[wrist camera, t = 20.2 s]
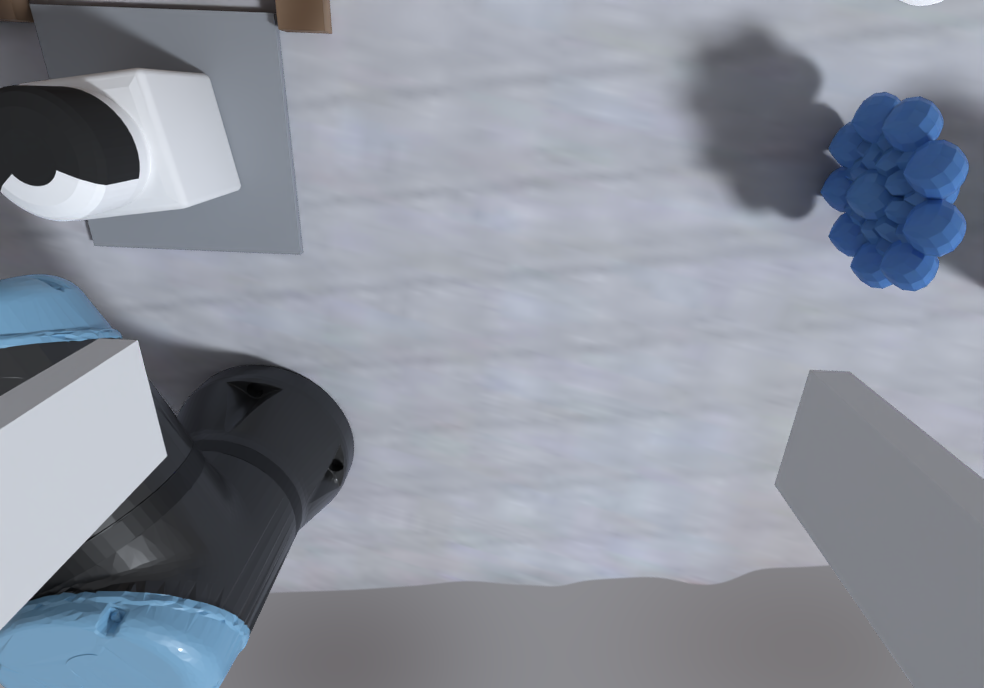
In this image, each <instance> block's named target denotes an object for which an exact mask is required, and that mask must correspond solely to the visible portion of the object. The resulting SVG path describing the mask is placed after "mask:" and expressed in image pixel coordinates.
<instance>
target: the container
mask: <svg viewBox="0 0 984 688" xmlns="http://www.w3.org/2000/svg"><path fill="white" fill-rule="evenodd" d="M240 187H241V184H240V180H239V177H238V173H237V170H236V167H235V163H234V160H233V156H232V153H231V149H230V146H229V143H228V139H227V136H226V132H225V129H224V126H223V122H222V119H221V115H220V112H219V108H218V105H217V102H216V98H215V95H214V91H213V88H212V84H211V81H210V78H209V77H208V76H207V75H206V74H204V73H194V72H182V71H170V70H158V69H146V68H131V69H124V70H117V71H109V72H102V73H95V74H87V75H80V76H73V77H65V78H58V79H51V80H43V81H36V82H29V83H21V84H18V85H12V86H7V87H3V88H0V192H1V193H2V194H3V195H5V196H6V197H7V198H8V199H9V200H11V201H12V202H13V203H15V204H16V205H17V206H19V207H20V208H22V209H24V210H25V211H27V212H29V213H31V214H33V215H36V216H38V217H41V218H44V219H48V220H53V221H72V220H77V221H80V220H89V219H97V218H106V217H115V216H123V215H132V214H141V213H149V212H158V211H167V210H175V209H184V208H187V207H190V206H193V205H196V204H199V203H202V202H205V201H208V200H211V199H214V198H217V197H220V196H223V195H226V194H229V193H232V192H235V191H238V190H239V189H240Z"/></svg>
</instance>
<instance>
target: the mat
mask: <svg viewBox="0 0 984 688" xmlns="http://www.w3.org/2000/svg"><path fill="white" fill-rule="evenodd" d="M30 8H31V12H32V16H33V19H34V23H35V27H36V31H37V34H38V38H39V42H40V45H41V49H42V53H43V57H44V60H45V64H46V68H47V71H48V75H49V79H50V80H51V79H58V78H65V77H73V76H80V75H87V74H95V73H102V72H109V71H117V70H124V69H131V68H146V69H158V70H170V71H182V72H194V73H204V74H206V75H207V76H208V77H209V78H210V81H211V84H212V88H213V91H214V95H215V98H216V102H217V105H218V108H219V112H220V115H221V119H222V122H223V126H224V129H225V132H226V136H227V139H228V143H229V146H230V149H231V153H232V156H233V160H234V163H235V167H236V170H237V173H238V177H239V180H240V184H241V187H240V189H239V190H238V191H235V192H232V193H229V194H226V195H223V196H220V197H217V198H214V199H211V200H208V201H205V202H202V203H199V204H196V205H193V206H190V207H187V208H184V209H175V210H167V211H158V212H149V213H141V214H132V215H123V216H115V217H106V218H97V219H89V220H88V224H89V228H90V232H91V235H92V239H93V243H94V246H107V247H131V248H155V249H178V250H202V251H226V252H249V253H273V254H297V255H301V254H302V253H303V246H302V237H301V228H300V219H299V209H298V200H297V191H296V182H295V173H294V164H293V155H292V145H291V136H290V127H289V118H288V109H287V100H286V91H285V81H284V72H283V63H282V54H281V45H280V36H279V29H278V21H277V14H275V13H262V12H235V11H208V10H180V9H153V8H126V7H98V6H71V5H44V4H30Z"/></svg>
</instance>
